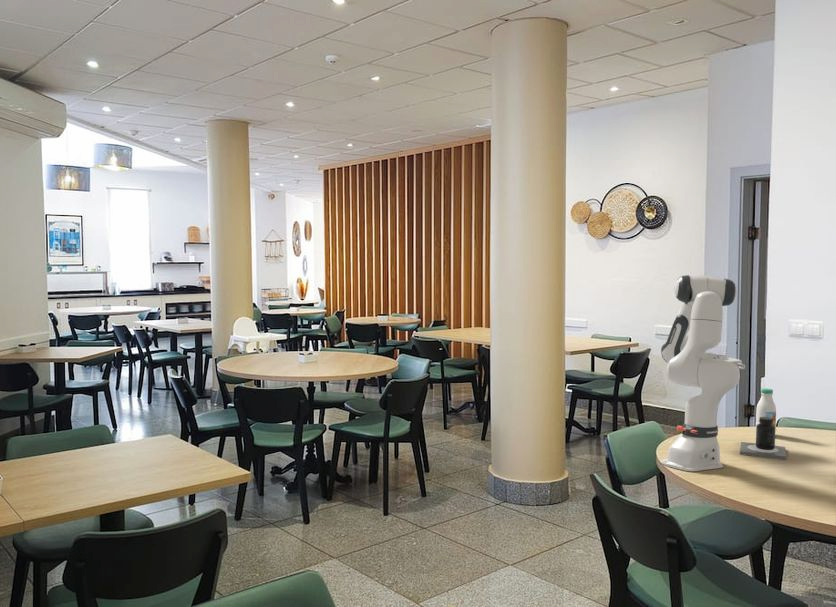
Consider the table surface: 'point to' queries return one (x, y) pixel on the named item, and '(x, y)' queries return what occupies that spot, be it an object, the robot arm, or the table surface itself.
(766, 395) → the milk bottle
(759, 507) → the table surface
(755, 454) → the charging pad
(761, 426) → the supplement bottle
